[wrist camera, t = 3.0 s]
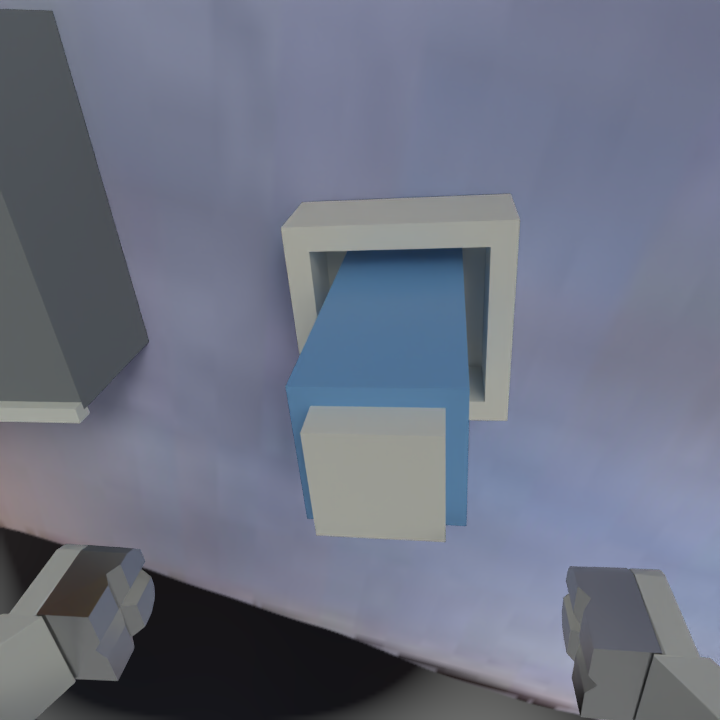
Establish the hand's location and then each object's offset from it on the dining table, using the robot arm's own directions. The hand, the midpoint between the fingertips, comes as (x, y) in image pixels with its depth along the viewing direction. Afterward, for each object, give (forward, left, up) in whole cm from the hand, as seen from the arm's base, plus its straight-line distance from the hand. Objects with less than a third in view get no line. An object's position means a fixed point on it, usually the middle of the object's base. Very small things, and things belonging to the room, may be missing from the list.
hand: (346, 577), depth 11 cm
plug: (0, 0, -12) cm, 12 cm away
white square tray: (0, 0, -13) cm, 13 cm away
